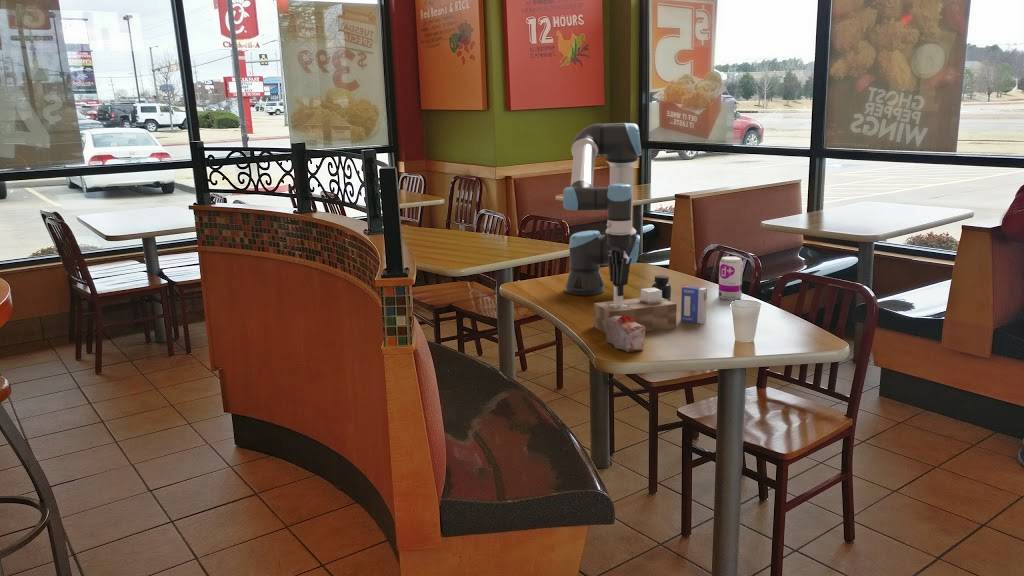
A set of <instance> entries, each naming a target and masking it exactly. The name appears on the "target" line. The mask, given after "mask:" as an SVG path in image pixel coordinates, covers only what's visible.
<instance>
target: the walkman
mask: <svg viewBox="0 0 1024 576" xmlns="http://www.w3.org/2000/svg"><path fill="white" fill-rule="evenodd" d="M707 297H708V288H707V287H699V286H689V285H684V286H682V287H681V301H680V302H681V303H680V304H681V305H680V307H681V308H680V309H681V310H680V321H681V322H685V323H690V324H698V323H700V325H703V324H705V322H706V323H707V308H708V307H707V305H708V304H707V299H708V298H707Z"/></svg>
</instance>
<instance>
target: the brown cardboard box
mask: <svg viewBox="0 0 1024 576" xmlns="http://www.w3.org/2000/svg"><path fill="white" fill-rule="evenodd" d="M608 304H614V300H611V301H610V300H608V301H602V302H593V328H596V329H597V330H599V331H600V332H602V333H603V334H605V335H606V323H607V322H606V320H607V319H608V318H610V317H614V316H624V315H626V316H632V318H633V319H634V322H636V323H638V324H640V325H643V326H645V333H646V332H653V331H654V332H655V331H660V330H667V329H668V328H669V329H676V328H677V310H678V309H677V308H678V307H677V303H675V302H673V301H669V300H666V299H664V298H662V303H657V304H646V303H643V302H641V297H635V298H629V299H623V304H625V305H627V306H629V307H623V308H613V307H611V306H609V305H608ZM669 329H668V330H669Z"/></svg>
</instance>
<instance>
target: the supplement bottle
mask: <svg viewBox="0 0 1024 576" xmlns="http://www.w3.org/2000/svg"><path fill="white" fill-rule="evenodd" d="M669 280H670V279H669V276H667V275H662V274H659V275H655V276H654V280H653V281H654V283H653V284H652V285H651V288H657V289H659V290H661V291H662V298H664V299H666V300H669V301H671V300H672V285H671V284H670V283H669V282H670V281H669ZM671 302H672V301H671Z"/></svg>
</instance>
